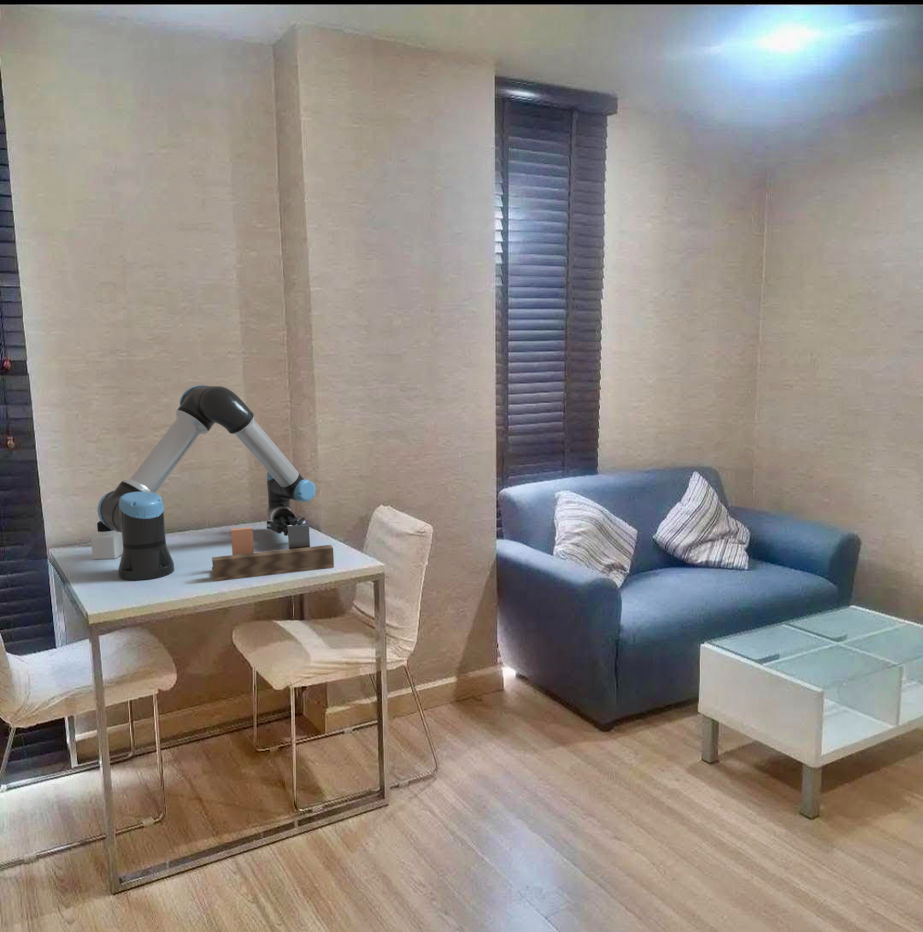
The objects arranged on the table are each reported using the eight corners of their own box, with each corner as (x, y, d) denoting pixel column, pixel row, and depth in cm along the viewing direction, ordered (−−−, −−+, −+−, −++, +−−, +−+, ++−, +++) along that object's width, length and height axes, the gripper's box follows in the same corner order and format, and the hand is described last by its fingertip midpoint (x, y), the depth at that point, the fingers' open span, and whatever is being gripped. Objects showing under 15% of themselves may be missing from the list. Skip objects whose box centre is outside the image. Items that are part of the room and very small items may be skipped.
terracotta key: (233, 567, 228) (231, 530, 226) (233, 565, 230) (230, 529, 228) (254, 564, 230) (252, 528, 228) (254, 563, 232) (251, 527, 230)
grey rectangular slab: (290, 563, 230) (288, 527, 228) (289, 562, 232) (287, 526, 230) (310, 561, 232) (308, 525, 231) (309, 559, 234) (307, 524, 232)
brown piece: (214, 581, 218) (212, 560, 217) (212, 570, 229) (210, 550, 228) (334, 567, 230) (333, 547, 229) (326, 557, 241) (325, 538, 240)
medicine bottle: (124, 553, 251) (121, 517, 250) (115, 559, 244) (112, 521, 242) (102, 553, 251) (99, 517, 249) (92, 559, 244) (89, 522, 242)
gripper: (303, 527, 268) (314, 543, 246) (264, 531, 263) (272, 547, 241) (301, 506, 266) (313, 520, 244) (263, 509, 262) (270, 524, 240)
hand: (292, 533), depth 243 cm, fingers closed
